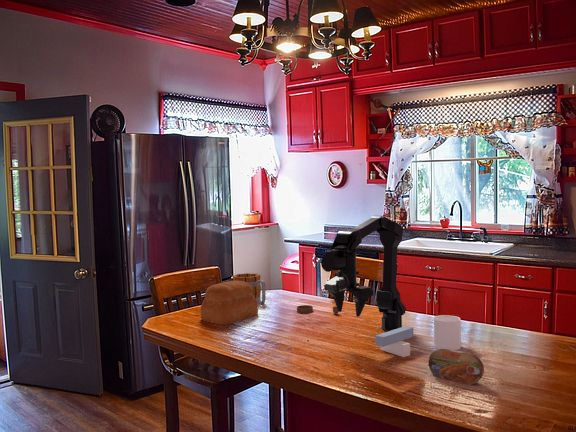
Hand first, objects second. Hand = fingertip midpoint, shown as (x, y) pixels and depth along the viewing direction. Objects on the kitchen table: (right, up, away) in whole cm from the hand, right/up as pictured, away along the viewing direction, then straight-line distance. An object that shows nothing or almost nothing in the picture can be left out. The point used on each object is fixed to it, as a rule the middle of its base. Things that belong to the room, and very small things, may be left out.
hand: (348, 314), depth 174 cm
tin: (+26, -13, -31) cm, 43 cm away
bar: (+14, -7, -8) cm, 18 cm away
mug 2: (+34, -12, -2) cm, 36 cm away
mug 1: (-38, -10, +70) cm, 80 cm away
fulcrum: (+14, -12, -8) cm, 20 cm away
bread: (-45, -12, +43) cm, 64 cm away
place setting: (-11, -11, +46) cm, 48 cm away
